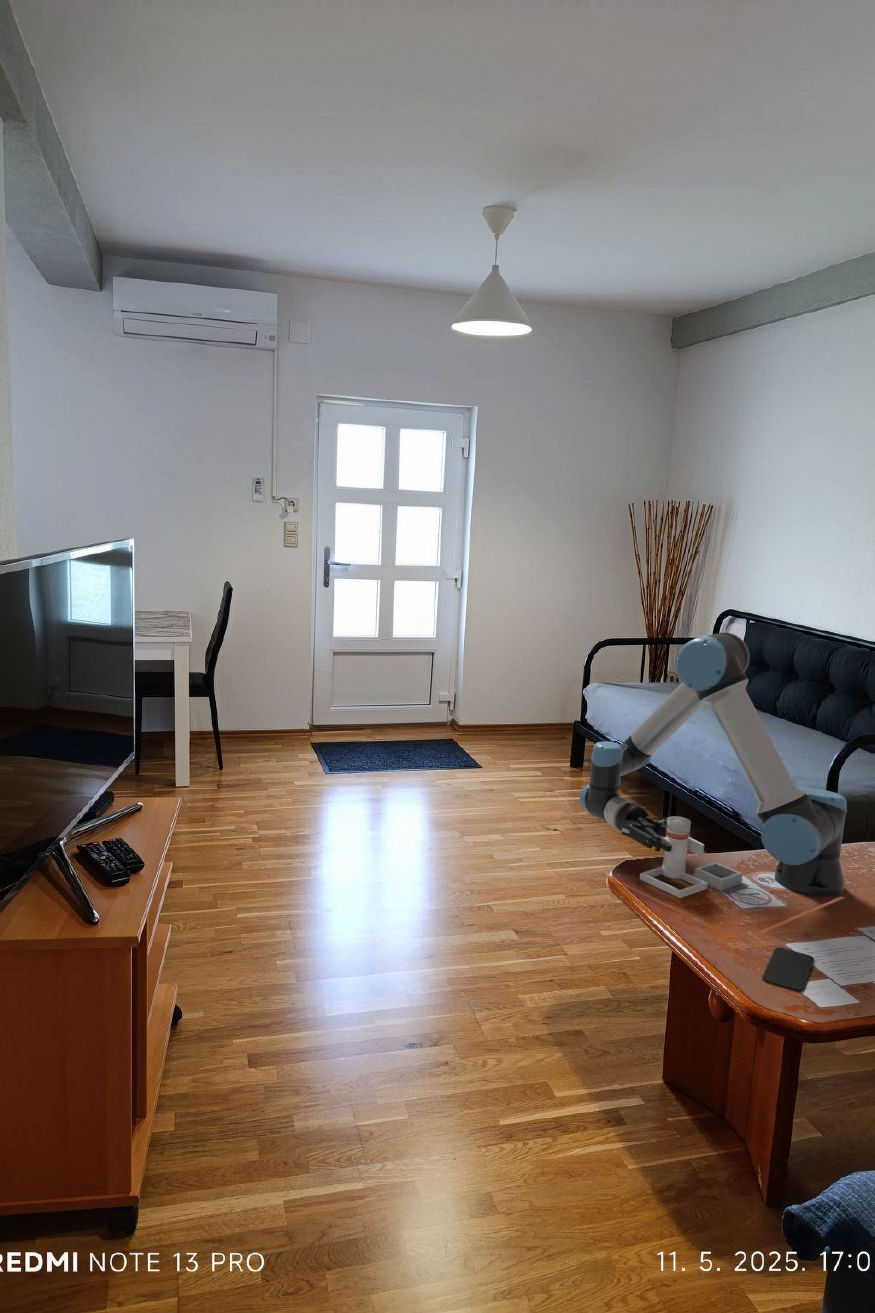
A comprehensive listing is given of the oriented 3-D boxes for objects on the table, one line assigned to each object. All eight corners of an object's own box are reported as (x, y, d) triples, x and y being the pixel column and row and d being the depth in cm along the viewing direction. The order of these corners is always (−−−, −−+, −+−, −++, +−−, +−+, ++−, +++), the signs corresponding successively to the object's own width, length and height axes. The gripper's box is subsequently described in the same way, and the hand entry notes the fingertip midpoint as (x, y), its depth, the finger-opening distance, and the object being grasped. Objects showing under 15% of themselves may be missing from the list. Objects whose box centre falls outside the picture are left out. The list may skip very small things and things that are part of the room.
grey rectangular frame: (706, 891, 206) (707, 882, 206) (679, 900, 200) (680, 892, 200) (666, 872, 215) (667, 864, 215) (639, 881, 209) (640, 873, 209)
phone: (761, 979, 168) (776, 945, 181) (760, 983, 168) (775, 949, 181) (803, 991, 164) (815, 956, 177) (802, 995, 164) (815, 960, 177)
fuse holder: (749, 887, 209) (750, 875, 208) (725, 896, 203) (726, 883, 203) (709, 870, 217) (710, 858, 217) (685, 879, 212) (687, 866, 212)
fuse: (689, 876, 207) (695, 822, 205) (674, 880, 204) (680, 826, 201) (671, 867, 211) (677, 815, 209) (656, 872, 208) (662, 818, 205)
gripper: (653, 826, 226) (721, 862, 206) (595, 835, 218) (659, 873, 198) (656, 798, 225) (724, 831, 205) (598, 806, 217) (663, 841, 197)
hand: (692, 852), depth 201 cm, fingers closed on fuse, 5 cm apart
